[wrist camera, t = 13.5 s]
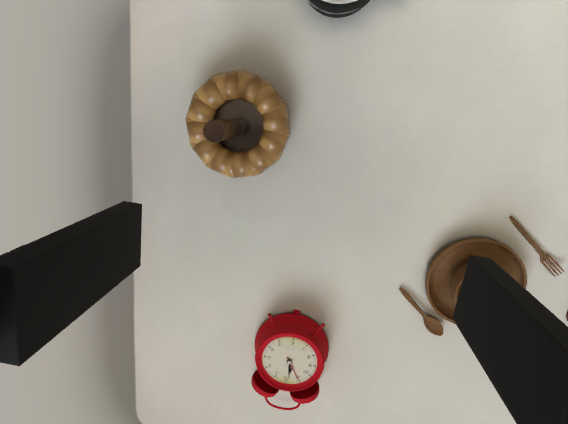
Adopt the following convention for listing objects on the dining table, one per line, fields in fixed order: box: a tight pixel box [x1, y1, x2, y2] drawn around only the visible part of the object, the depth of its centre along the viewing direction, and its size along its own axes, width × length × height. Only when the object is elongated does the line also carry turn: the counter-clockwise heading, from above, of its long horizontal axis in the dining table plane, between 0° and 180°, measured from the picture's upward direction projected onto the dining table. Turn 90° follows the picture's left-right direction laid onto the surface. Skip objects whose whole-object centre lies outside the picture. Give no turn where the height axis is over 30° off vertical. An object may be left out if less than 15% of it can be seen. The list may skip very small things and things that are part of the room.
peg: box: [203, 99, 264, 152], centre depth 40 cm, size 8×8×13 cm
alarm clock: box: [252, 310, 329, 410], centre depth 52 cm, size 10×6×15 cm
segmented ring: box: [186, 70, 290, 178], centre depth 44 cm, size 12×12×3 cm
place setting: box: [399, 216, 568, 336], centre depth 46 cm, size 18×20×6 cm
